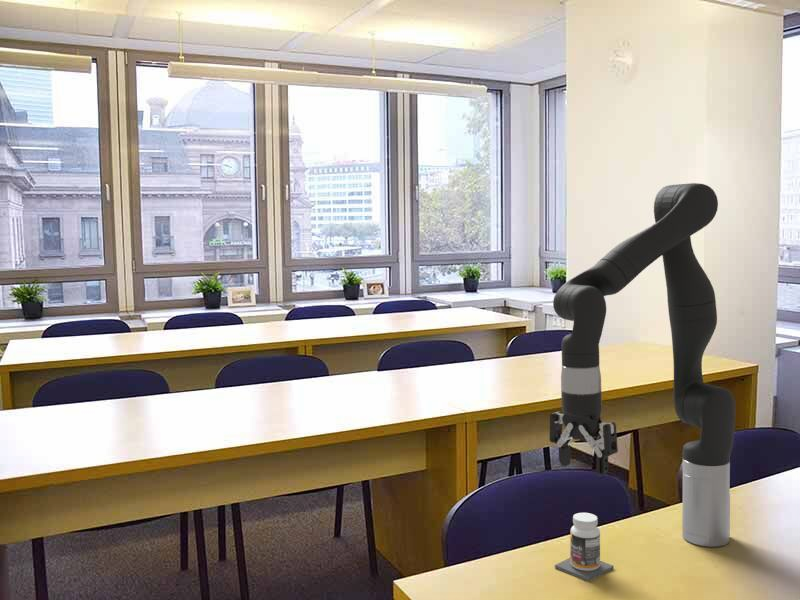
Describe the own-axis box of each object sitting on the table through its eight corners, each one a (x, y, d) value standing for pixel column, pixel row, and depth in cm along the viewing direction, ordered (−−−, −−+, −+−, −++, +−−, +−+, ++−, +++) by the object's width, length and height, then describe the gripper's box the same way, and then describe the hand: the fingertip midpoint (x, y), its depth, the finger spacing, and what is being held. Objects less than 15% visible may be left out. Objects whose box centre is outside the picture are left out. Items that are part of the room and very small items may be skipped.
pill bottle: (564, 562, 148) (564, 514, 147) (588, 557, 150) (587, 509, 149) (582, 574, 142) (582, 524, 141) (606, 568, 145) (606, 519, 144)
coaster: (579, 555, 152) (579, 552, 152) (613, 568, 146) (613, 565, 146) (555, 567, 147) (554, 565, 147) (588, 581, 141) (588, 578, 141)
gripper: (624, 389, 140) (626, 473, 141) (563, 380, 151) (565, 457, 152) (600, 397, 135) (602, 483, 137) (539, 386, 146) (541, 466, 148)
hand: (583, 469), depth 145 cm, fingers open, 8 cm apart
